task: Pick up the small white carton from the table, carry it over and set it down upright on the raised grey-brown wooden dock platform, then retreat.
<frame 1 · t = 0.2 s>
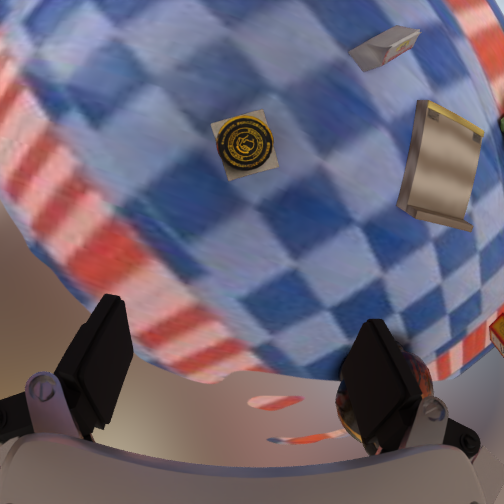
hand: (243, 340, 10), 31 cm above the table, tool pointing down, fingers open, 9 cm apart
baking soda box: (496, 326, 57), on the table
small white carton: (370, 52, 29), on the table
amphora vase: (370, 360, 57), on the table
condiment: (245, 144, 36), on the table
dock: (439, 163, 36), on the table
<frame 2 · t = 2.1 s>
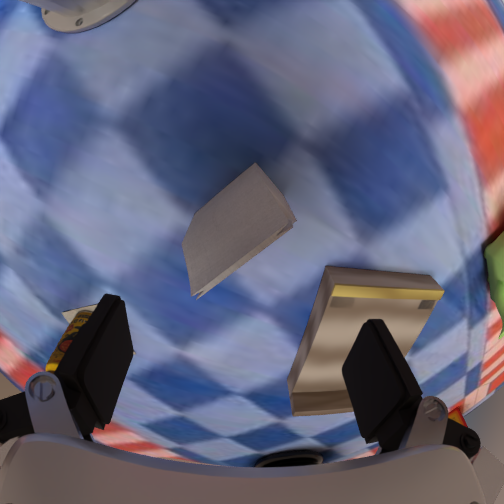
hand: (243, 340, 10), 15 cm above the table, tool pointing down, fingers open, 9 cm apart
baking soda box: (449, 415, 53), on the table
small white carton: (238, 203, 23), on the table
kettle: (498, 255, 27), on the table
amphora vase: (288, 459, 52), on the table
condiment: (98, 332, 30), on the table
dock: (357, 334, 31), on the table
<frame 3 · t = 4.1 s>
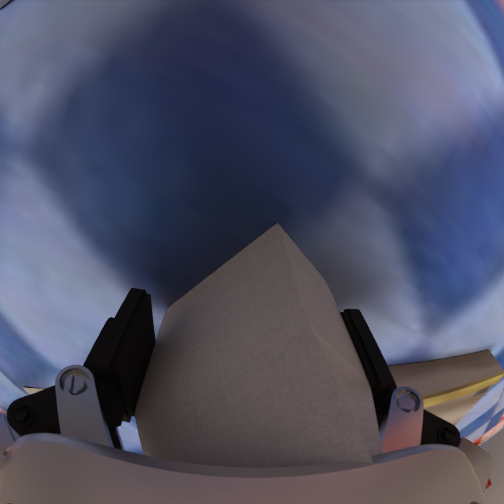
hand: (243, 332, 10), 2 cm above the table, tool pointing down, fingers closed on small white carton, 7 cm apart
small white carton: (243, 294, 13), on the table, touching gripper
dock: (393, 420, 20), on the table
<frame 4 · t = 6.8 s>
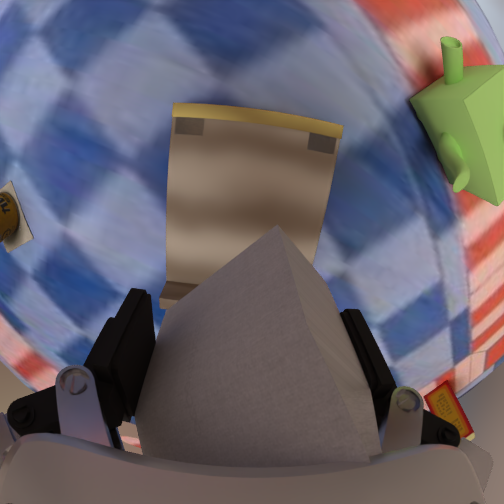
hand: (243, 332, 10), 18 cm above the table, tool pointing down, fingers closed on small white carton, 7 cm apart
baking soda box: (438, 393, 47), on the table
small white carton: (243, 296, 13), point 15 cm above the table, touching gripper
kettle: (445, 127, 23), on the table
condiment: (9, 217, 26), on the table
dock: (245, 203, 27), on the table
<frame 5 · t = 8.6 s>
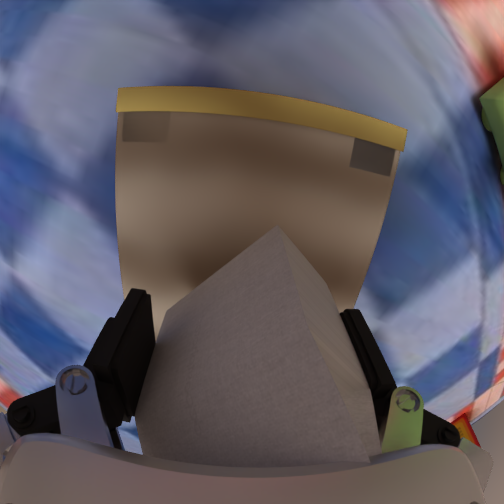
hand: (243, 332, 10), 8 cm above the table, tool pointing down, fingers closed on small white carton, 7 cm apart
baking soda box: (453, 425, 38), on the table
small white carton: (243, 296, 13), point 5 cm above the table, touching gripper
dock: (243, 247, 17), on the table
when the fingers open (7 cm above the table, at t = 9.8 s): small white carton drops 1 cm, resting on dock.
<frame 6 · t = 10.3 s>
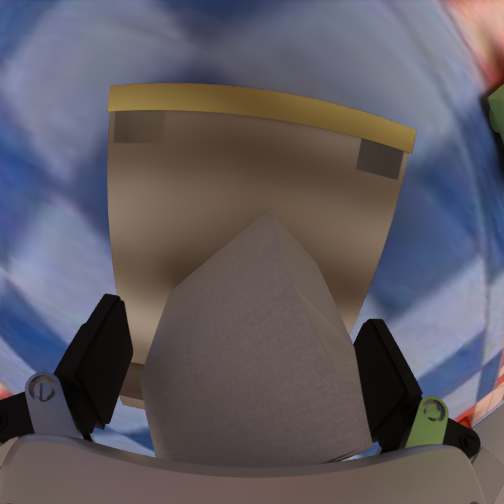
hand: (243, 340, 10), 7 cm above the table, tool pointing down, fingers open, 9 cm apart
small white carton: (241, 276, 14), point 3 cm above the table, touching dock
dock: (243, 253, 17), on the table
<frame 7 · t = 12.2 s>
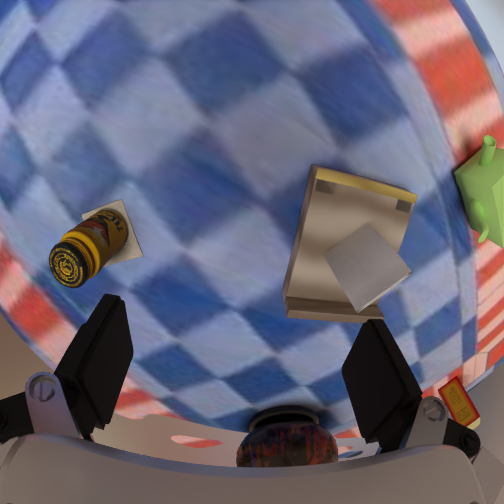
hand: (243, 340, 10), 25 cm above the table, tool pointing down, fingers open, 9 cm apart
baking soda box: (448, 388, 56), on the table
small white carton: (351, 248, 33), point 3 cm above the table, touching dock
kettle: (472, 187, 33), on the table
amphora vase: (283, 421, 55), on the table
condiment: (112, 234, 35), on the table
dock: (345, 240, 36), on the table
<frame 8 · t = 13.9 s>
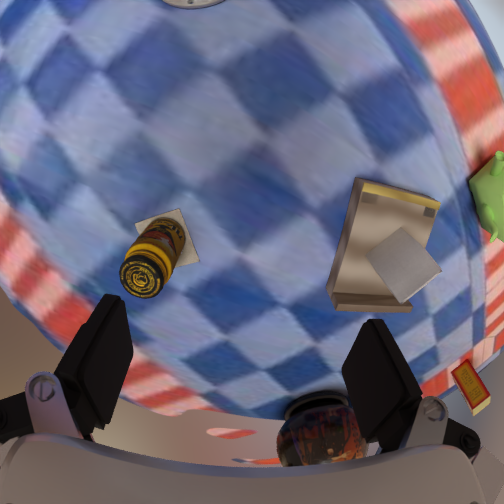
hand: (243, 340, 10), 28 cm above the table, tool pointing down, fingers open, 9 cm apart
baking soda box: (460, 370, 60), on the table
small white carton: (387, 249, 37), point 3 cm above the table, touching dock
kettle: (482, 192, 36), on the table
amphora vase: (315, 406, 60), on the table
condiment: (167, 241, 39), on the table
dock: (380, 242, 40), on the table
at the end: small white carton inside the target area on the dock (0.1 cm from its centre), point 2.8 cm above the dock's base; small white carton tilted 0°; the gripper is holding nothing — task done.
